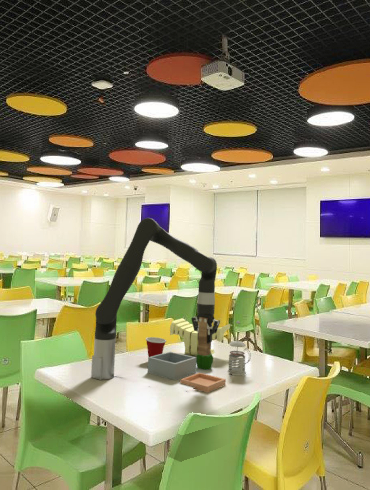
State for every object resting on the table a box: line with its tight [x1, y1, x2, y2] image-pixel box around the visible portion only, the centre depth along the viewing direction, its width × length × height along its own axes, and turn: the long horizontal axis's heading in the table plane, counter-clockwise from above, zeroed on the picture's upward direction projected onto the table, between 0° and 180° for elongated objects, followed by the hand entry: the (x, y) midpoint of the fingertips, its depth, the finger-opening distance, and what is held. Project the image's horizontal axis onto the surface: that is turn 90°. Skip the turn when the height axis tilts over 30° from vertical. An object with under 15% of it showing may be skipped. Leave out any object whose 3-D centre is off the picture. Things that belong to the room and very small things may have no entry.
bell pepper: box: [195, 354, 214, 371], centre depth 200 cm, size 8×8×10 cm
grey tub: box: [147, 351, 197, 381], centre depth 190 cm, size 16×16×8 cm
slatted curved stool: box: [169, 317, 231, 357], centre depth 232 cm, size 30×16×18 cm, turn 65°
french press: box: [226, 320, 252, 376], centre depth 197 cm, size 10×12×25 cm
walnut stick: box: [198, 317, 212, 356], centre depth 177 cm, size 4×4×16 cm
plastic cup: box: [145, 336, 167, 357], centre depth 211 cm, size 11×11×12 cm
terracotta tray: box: [180, 372, 227, 393], centre depth 176 cm, size 14×14×2 cm
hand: (204, 342), depth 177 cm, fingers closed on walnut stick, 4 cm apart
